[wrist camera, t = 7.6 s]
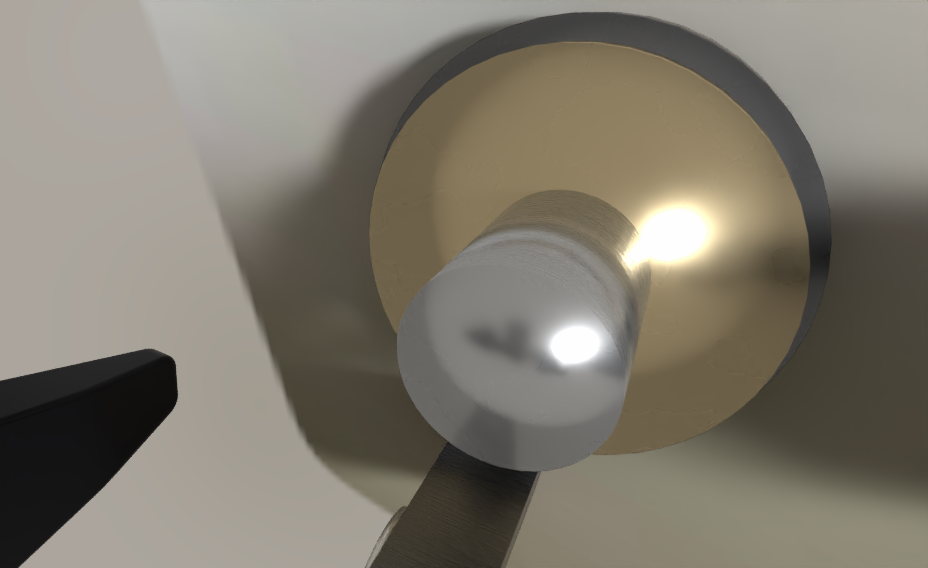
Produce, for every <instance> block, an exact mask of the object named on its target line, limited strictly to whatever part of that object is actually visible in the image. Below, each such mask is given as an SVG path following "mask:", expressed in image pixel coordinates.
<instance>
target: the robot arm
mask: <svg viewBox="0 0 928 568" xmlns="http://www.w3.org/2000/svg"><path fill="white" fill-rule="evenodd" d="M177 398H178V391H177V376H176V364H175V361H174V360H173V358H172V357H170V356H168V355H166V354H164V353H162V352H159V351H157V350H154V349H144V350H139V351H135V352H130V353H126V354H121V355H116V356H112V357H107V358H102V359H98V360H93V361H89V362H84V363H80V364H76V365H70V366H66V367H62V368H57V369H52V370H48V371H43V372H38V373H34V374H29V375H25V376H20V377H16V378H11V379H6V380H2V381H0V568H19V567H20V566H21V564H23V563H24V562H25V561H26V560H27V559H28V558H29V557H30V556H31V555H32V554H33V553H35V551H37V550H38V549H39V548H40V547H41V546H42V545H43V544H44V543H45V542H46V541H47V540H48V539H49V538H51V536H53V535H54V534H55V533H56V532H57V531H58V530H59V529H60V528H61V527H62V526H63V525H64V524H65V523H66V522H67V521H69V520H70V519H71V518H72V517H73V516H74V515H75V514H76V513H77V512H78V511H79V510H80V509H81V508H82V507H84V506H85V504H87V503H88V502H89V501H90V500H91V499H92V498H93V497H94V496H95V495H96V494H97V493H98V492H99V491H100V490H101V489H102V488H103V487H104V486H105V485H106V484H107V483H108V482H109V481H110V480H111V479H112V478H113V477H114V475H115V474H116V473H117V472H118V471H119V470H120V469H121V468H122V467H123V466H124V464H125V463H126V462H127V461H128V460H129V459H130V458H131V457H132V455H133V454H134V453H135V452H136V451H137V449H139V447H140V446H141V445H142V444H143V443H144V442H145V441H146V440H147V439H148V437H149V436H150V435H151V434H152V433H153V432H154V431H155V429H156V428H157V427H158V426H159V425H160V424H161V423H162V422H163V421H164V419H165V418H166V417H167V416H168V415H169V414H170V412H171V411H172V410H173V408H174V407H175V405H176V402H177Z"/></svg>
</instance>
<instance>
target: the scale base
mask: <svg viewBox="0 0 928 568" xmlns="http://www.w3.org/2000/svg"><path fill="white" fill-rule="evenodd" d="M563 41H604V42H611V43H617V44H624V45H630V46H635V47H638V48H641V49H645V50H648V51H651V52H655V53H658V54H661V55H664V56H667V57H669V58H671V59H673V60H675V61H677V62H679V63H682V64H684V65H686V66H688V67H690V68H692V69H694V70H696V71H697V72H699V73H700V74H702V75H703V76H705V77H706V78H708V79H709V80H711V81H713V82H714V83H716V84H717V85H719V86H720V87H722V88H723V89H724V90H725V91H726V92H727V93H728V94H730V95H731V96H732V97H733V98H734V99H735V100H736V101H737V102H738V103H740V104H741V105H742V106H743V107H744V108H745V109H746V110H747V111H748V112H749V113H750V114H751V116H752V117H753V118H754V119H755V121H756V122H757V123H758V124H759V125H760V127H761V128H762V129H763V130H764V131H765V133H766V134H767V135H768V137H769V138H770V140H771V142H772V143H773V145H774V147H775V148H776V150H777V152H778V153H779V155H780V157H781V158H782V160H783V162H784V164H785V166H786V168H787V171H788V173H789V175H790V178H791V180H792V183H793V185H794V188H795V190H796V193H797V195H798V198H799V200H800V203H801V206H802V211H803V215H804V219H805V224H806V228H807V232H808V240H809V256H810V274H809V284H808V294H807V300H806V304H805V307H804V311H803V315H802V319H801V322H800V326H799V328H798V331H797V333H796V335H795V337H794V340H793V342H792V344H791V346H790V349H789V351H788V353H787V354H786V356H785V357H784V359H783V361H782V362H781V364H780V365H779V367H778V368H777V370H776V371H775V373H774V374H773V376H772V377H771V378H770V379H769V381H771V380H772V378H773V377H774V376H775V375H776V374H777V373H778V372H779V371H780V369H781V368H782V367H783V366H784V365H785V364H786V363H787V362H788V360H789V359H790V358H791V357H792V355H793V354H794V352H795V351H796V349H797V348H798V346H799V344H800V343H801V341H802V340H803V338H804V337H805V335H806V334H807V332H808V330H809V327H810V325H811V323H812V321H813V319H814V316H815V314H816V312H817V310H818V308H819V305H820V302H821V298H822V295H823V291H824V287H825V284H826V280H827V277H828V269H829V260H830V251H831V226H830V210H829V205H828V200H827V196H826V191H825V187H824V182H823V177H822V175H821V172H820V170H819V167H818V165H817V162H816V160H815V157H814V154H813V152H812V149H811V147H810V145H809V143H808V141H807V140H806V138H805V136H804V134H803V133H802V131H801V129H800V128H799V126H798V124H797V123H796V121H795V119H794V117H793V116H792V114H791V113H790V111H789V110H788V109H787V107H786V106H785V105H784V103H783V102H782V101H781V100H780V98H779V97H778V96H777V95H776V93H775V92H774V91H773V90H772V89H771V87H770V86H769V85H768V84H767V83H766V81H765V80H764V79H763V78H762V77H761V76H760V75H759V74H758V73H757V72H755V71H754V70H753V69H752V68H751V67H750V66H749V65H748V64H746V63H745V62H744V61H743V60H742V59H741V58H740V57H738V56H737V55H735V54H734V53H732V52H731V51H729V50H728V49H726V48H725V47H723V46H722V45H720V44H719V43H717V42H716V41H714V40H712V39H711V38H708V37H706V36H704V35H702V34H700V33H697V32H695V31H693V30H691V29H689V28H686V27H684V26H682V25H679V24H675V23H672V22H668V21H665V20H661V19H658V18H654V17H650V16H643V15H636V14H629V13H622V12H583V13H567V14H561V15H554V16H547V17H541V18H537V19H534V20H530V21H527V22H524V23H520V24H517V25H514V26H510V27H508V28H506V29H503V30H501V31H499V32H497V33H495V34H493V35H491V36H488V37H486V38H484V39H482V40H480V41H478V42H477V43H475V44H474V45H472V46H471V47H469V48H468V49H466V50H465V51H463V52H461V53H460V54H458V55H457V56H455V57H454V58H453V59H452V60H451V61H450V62H448V63H447V64H446V65H445V66H444V67H443V68H442V69H440V70H439V71H438V72H437V73H436V74H435V75H433V77H432V78H431V79H430V80H429V81H428V82H427V83H426V85H425V86H424V87H423V88H422V89H421V90H420V92H419V93H418V94H417V95H416V96H415V97H414V99H413V100H412V102H411V104H410V105H409V107H408V108H407V110H406V111H405V113H404V114H403V116H402V117H401V119H400V121H399V123H398V125H397V127H396V129H395V131H394V133H393V136H392V138H391V140H390V142H389V144H388V147H387V150H386V154H385V157H384V160H385V158H386V156H387V154H388V152H389V150H390V147H391V145H392V143H393V142H394V140H395V139H396V137H397V135H398V134H399V132H400V131H401V129H402V128H403V126H404V125H405V123H406V122H407V120H408V119H409V118H410V117H411V116H412V115H413V114H414V112H415V111H416V110H417V109H418V108H419V107H420V106H421V105H422V103H423V102H424V101H425V100H426V99H428V98H429V97H430V96H431V95H432V94H433V93H435V92H436V91H437V90H438V89H439V88H440V87H442V86H443V85H444V84H445V83H446V82H448V81H450V80H451V79H453V78H454V77H456V76H458V75H459V74H461V73H462V72H464V71H466V70H467V69H469V68H470V67H472V66H475V65H477V64H479V63H481V62H484V61H486V60H488V59H491V58H493V57H495V56H497V55H500V54H504V53H508V52H511V51H515V50H518V49H522V48H525V47H530V46H535V45H541V44H548V43H556V42H563ZM384 160H383V162H384ZM382 164H383V163H382ZM381 167H382V166H381ZM769 381H768V382H769ZM768 382H767V383H768ZM767 383H766V384H767ZM766 384H765V385H766ZM765 385H764V386H765ZM540 472H541V471H519V470H513V469H507V468H503V467H499V466H495V465H492V464H489V463H487V462H484V461H481V460H479V459H477V458H475V457H473V456H471V455H469V454H467V453H465V452H463V451H462V450H460V449H459V448H457V447H455V446H454V445H453V444H451V443H450V442H449V441H448V443H447V444H446V446H445V447H444V449H443V451H442V452H441V454H440V455H439V457H438V459H437V460H436V462H435V463H434V465H433V467H432V468H431V470H430V471H429V473H428V475H427V476H426V478H425V479H424V481H423V483H422V484H421V486H420V487H419V489H418V491H417V492H416V494H415V495H414V497H413V499H412V500H411V502H410V503H409V505H408V507H407V506H402V507H401V508H400V509H399V510H398V511H397V512H396V513H395V514H394V515H393V517H392V518H391V519H390V521H389V522H388V524H387V526H386V527H385V529H384V530H383V532H382V534H381V536H380V537H379V539H378V541H377V543H376V545H375V547H374V549H373V551H372V553H371V555H370V557H369V559H368V562H367V564H366V566H365V568H505V567H506V564H507V562H508V559H509V557H510V554H511V551H512V549H513V546H514V543H515V541H516V538H517V535H518V533H519V530H520V528H521V525H522V522H523V520H524V517H525V514H526V512H527V509H528V506H529V504H530V501H531V499H532V496H533V493H534V490H535V487H536V484H537V481H538V478H539V475H540Z"/></svg>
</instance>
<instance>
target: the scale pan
mask: <svg viewBox="0 0 928 568" xmlns="http://www.w3.org/2000/svg"><path fill="white" fill-rule="evenodd" d="M548 190H571V191H577V192H582V193H586V194H589V195H591V196H594V197H597V198H599V199H601V200H603V201H605V202H607V203H608V204H610V205H611V206H613V207H614V208H616V209H617V210H618V211H620V212H621V213H622V214H623V215H624V216H625V217H626V218H627V219H628V220H629V221H630V222H631V223H632V225H633V226H634V227H635V228H636V230H637V231H638V233H639V234H640V236H641V238H642V240H643V242H644V244H645V246H646V249H647V252H648V255H649V258H650V264H651V288H650V293H649V298H648V302H647V306H646V310H645V315H644V319H643V323H642V327H641V332H640V336H639V340H638V344H637V349H636V353H635V357H634V361H633V366H632V370H631V374H630V378H629V383H628V387H627V391H626V395H625V400H624V404H623V408H622V411H621V414H620V418H619V420H618V422H617V424H616V426H615V428H614V430H613V432H612V433H611V435H610V436H609V437H608V439H607V440H606V441H605V442H604V443H603V444H602V445H601V446H600V447H599V448H598V449H597V450H596V451H595V452H593V453H592V454H594V455H617V454H630V453H639V452H644V451H649V450H654V449H660V448H663V447H667V446H670V445H673V444H676V443H679V442H682V441H685V440H688V439H690V438H692V437H694V436H696V435H699V434H701V433H703V432H705V431H707V430H709V429H711V428H713V427H714V426H716V425H718V424H719V423H721V422H722V421H724V420H725V419H727V418H729V417H730V416H732V415H733V414H734V413H736V412H737V411H738V410H739V409H740V408H742V407H743V406H744V405H745V404H746V403H747V402H749V401H750V400H751V399H752V398H753V397H754V396H755V395H756V394H757V393H758V392H759V391H760V390H761V388H762V387H763V386H764V385H765V384H766V383H767V382H768V381H769V379H770V378H771V377H772V376H773V374H774V373H775V371H776V370H777V368H778V367H779V365H780V364H781V362H782V361H783V359H784V357H785V356H786V354H787V353H788V351H789V349H790V346H791V344H792V342H793V340H794V337H795V335H796V333H797V331H798V328H799V326H800V322H801V319H802V315H803V311H804V307H805V304H806V300H807V294H808V284H809V274H810V256H809V240H808V232H807V228H806V224H805V219H804V215H803V211H802V206H801V203H800V200H799V198H798V195H797V193H796V190H795V188H794V185H793V183H792V180H791V178H790V175H789V173H788V171H787V168H786V166H785V164H784V162H783V160H782V158H781V157H780V155H779V153H778V152H777V150H776V148H775V147H774V145H773V143H772V142H771V140H770V138H769V137H768V135H767V134H766V133H765V131H764V130H763V129H762V128H761V127H760V125H759V124H758V123H757V122H756V121H755V119H754V118H753V117H752V116H751V114H750V113H749V112H748V111H747V110H746V109H745V108H744V107H743V106H742V105H741V104H740V103H738V102H737V101H736V100H735V99H734V98H733V97H732V96H731V95H730V94H728V93H727V92H726V91H725V90H724V89H723V88H722V87H720V86H719V85H717V84H716V83H714V82H713V81H711V80H709V79H708V78H706V77H705V76H703V75H702V74H700V73H699V72H697V71H696V70H694V69H692V68H690V67H688V66H686V65H684V64H682V63H679V62H677V61H675V60H673V59H671V58H669V57H667V56H664V55H661V54H658V53H655V52H651V51H648V50H645V49H641V48H638V47H635V46H630V45H624V44H617V43H611V42H604V41H563V42H556V43H548V44H541V45H535V46H530V47H525V48H522V49H518V50H515V51H511V52H508V53H504V54H500V55H497V56H495V57H493V58H491V59H488V60H486V61H484V62H481V63H479V64H477V65H475V66H472V67H470V68H469V69H467V70H466V71H464V72H462V73H461V74H459V75H458V76H456V77H454V78H453V79H451V80H450V81H448V82H446V83H445V84H444V85H443V86H442V87H440V88H439V89H438V90H437V91H436V92H435V93H433V94H432V95H431V96H430V97H429V98H428V99H426V100H425V101H424V102H423V103H422V105H421V106H420V107H419V108H418V109H417V110H416V111H415V112H414V114H413V115H412V116H411V117H410V118H409V119H408V120H407V122H406V123H405V125H404V126H403V128H402V129H401V131H400V132H399V134H398V135H397V137H396V139H395V140H394V142H393V143H392V145H391V147H390V150H389V152H388V154H387V156H386V158H385V160H384V162H383V164H382V167H381V170H380V173H379V176H378V180H377V183H376V186H375V189H374V195H373V200H372V206H371V212H370V229H369V242H370V255H371V263H372V268H373V273H374V278H375V283H376V287H377V290H378V293H379V296H380V299H381V302H382V305H383V308H384V310H385V312H386V314H387V317H388V319H389V321H390V323H391V326H392V328H393V329H394V331H395V333H396V334H397V335H398V330H399V326H400V322H401V319H402V317H403V314H404V312H405V310H406V308H407V306H408V305H409V303H410V301H411V300H412V299H413V297H414V296H415V295H416V294H417V293H418V291H419V290H420V289H421V288H423V287H424V286H425V285H426V284H427V283H428V282H429V281H430V280H431V279H432V278H433V277H434V276H435V275H436V274H437V273H438V272H440V271H441V270H442V269H443V268H444V267H445V266H446V265H447V264H448V263H449V262H450V261H451V260H452V259H453V258H454V257H455V256H456V255H458V254H459V253H460V252H461V251H462V250H463V249H464V248H465V247H466V246H467V245H468V244H469V243H470V242H471V241H472V240H473V239H475V238H476V237H477V236H478V235H479V234H480V233H481V232H482V231H483V230H484V229H485V228H486V227H487V226H488V225H489V224H490V223H492V222H493V221H494V220H495V219H496V218H497V217H498V216H499V215H500V214H501V213H502V212H503V211H504V210H506V209H507V208H508V207H509V206H510V205H512V204H513V203H515V202H516V201H518V200H520V199H522V198H524V197H526V196H528V195H531V194H534V193H537V192H542V191H548Z"/></svg>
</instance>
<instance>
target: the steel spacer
mask: <svg viewBox="0 0 928 568" xmlns="http://www.w3.org/2000/svg"><path fill="white" fill-rule="evenodd" d="M650 288H651V264H650V258H649V255H648V252H647V249H646V246H645V244H644V242H643V240H642V238H641V236H640V234H639V233H638V231H637V230H636V228H635V227H634V226H633V225H632V223H631V222H630V221H629V220H628V219H627V218H626V217H625V216H624V215H623V214H622V213H621V212H620V211H618V210H617V209H616V208H614V207H613V206H611V205H610V204H608V203H607V202H605V201H603V200H601V199H599V198H597V197H594V196H591V195H589V194H586V193H582V192H577V191H571V190H548V191H542V192H537V193H534V194H531V195H528V196H526V197H524V198H522V199H520V200H518V201H516V202H515V203H513V204H512V205H510V206H509V207H508V208H507V209H506V210H504V211H503V212H502V213H501V214H500V215H499V216H498V217H497V218H496V219H495V220H494V221H493V222H492V223H490V224H489V225H488V226H487V227H486V228H485V229H484V230H483V231H482V232H481V233H480V234H479V235H478V236H477V237H476V238H475V239H473V240H472V241H471V242H470V243H469V244H468V245H467V246H466V247H465V248H464V249H463V250H462V251H461V252H460V253H459V254H458V255H456V256H455V257H454V258H453V259H452V260H451V261H450V262H449V263H448V264H447V265H446V266H445V267H444V268H443V269H442V270H441V271H440V272H438V273H437V274H436V275H435V276H434V277H433V278H432V279H431V280H430V281H429V282H428V283H427V284H426V285H425V286H424V287H423V288H421V289H420V290H419V291H418V293H417V294H416V295H415V296H414V297H413V299H412V300H411V301H410V303H409V305H408V306H407V308H406V310H405V312H404V314H403V317H402V319H401V322H400V326H399V330H398V335H397V360H398V365H399V370H400V374H401V377H402V380H403V383H404V385H405V388H406V390H407V392H408V394H409V396H410V398H411V400H412V401H413V403H414V405H415V406H416V408H417V409H418V411H419V412H420V413H421V415H422V416H423V417H424V419H425V420H426V421H427V422H428V423H429V424H430V425H431V426H432V427H433V429H435V430H436V431H437V432H438V433H439V434H440V435H441V436H442V437H443V438H445V439H446V440H447V441H449V442H450V443H451V444H453V445H454V446H455V447H457V448H459V449H460V450H462V451H463V452H465V453H467V454H469V455H471V456H473V457H475V458H477V459H479V460H481V461H484V462H487V463H489V464H492V465H495V466H499V467H503V468H507V469H513V470H519V471H548V470H553V469H559V468H563V467H566V466H569V465H572V464H575V463H577V462H579V461H581V460H583V459H585V458H586V457H588V456H589V455H591V454H592V453H593V452H595V451H596V450H597V449H598V448H599V447H600V446H601V445H602V444H603V443H604V442H605V441H606V440H607V439H608V437H609V436H610V435H611V433H612V432H613V430H614V428H615V426H616V424H617V422H618V420H619V418H620V414H621V411H622V408H623V404H624V400H625V395H626V391H627V387H628V383H629V378H630V374H631V370H632V366H633V361H634V357H635V353H636V349H637V344H638V340H639V336H640V332H641V327H642V323H643V319H644V315H645V310H646V306H647V302H648V298H649V293H650Z"/></svg>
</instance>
